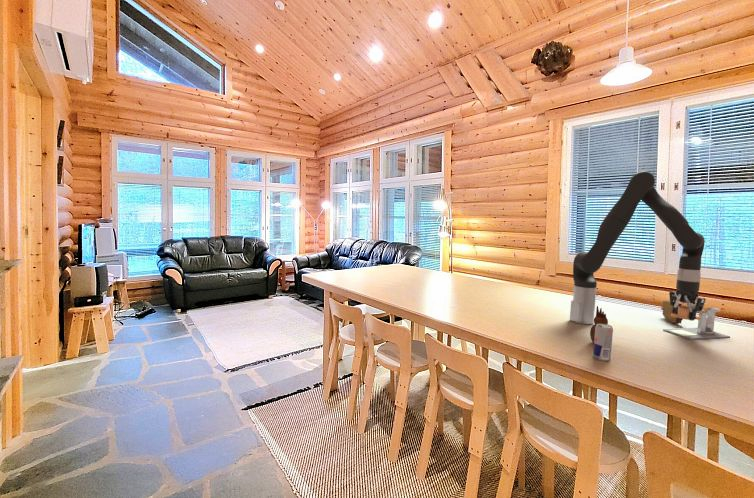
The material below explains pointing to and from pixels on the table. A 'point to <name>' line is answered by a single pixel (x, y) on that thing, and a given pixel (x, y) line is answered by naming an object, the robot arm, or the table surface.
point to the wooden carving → (669, 312)
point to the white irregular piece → (707, 321)
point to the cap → (683, 313)
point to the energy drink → (603, 342)
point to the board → (694, 334)
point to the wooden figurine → (598, 322)
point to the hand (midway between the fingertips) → (684, 318)
